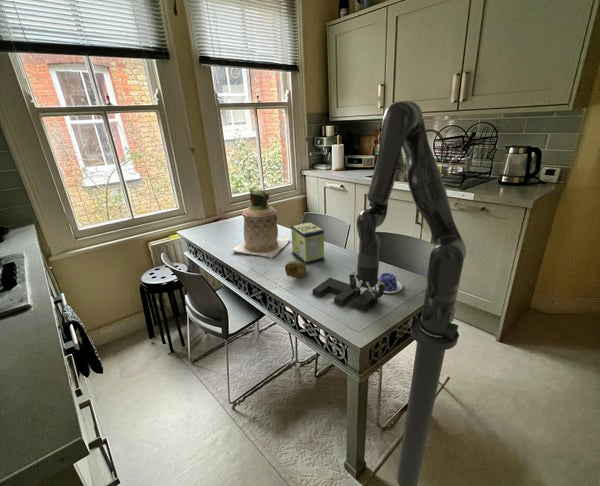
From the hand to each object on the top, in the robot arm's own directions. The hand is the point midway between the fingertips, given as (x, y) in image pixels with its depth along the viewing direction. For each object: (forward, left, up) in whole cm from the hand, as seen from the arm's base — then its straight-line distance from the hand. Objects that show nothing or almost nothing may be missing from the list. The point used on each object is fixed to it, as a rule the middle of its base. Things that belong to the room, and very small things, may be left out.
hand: (365, 301), depth 120 cm
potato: (+35, -1, -1) cm, 35 cm away
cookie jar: (+72, -15, -1) cm, 73 cm away
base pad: (+13, +1, -1) cm, 13 cm away
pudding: (-1, -16, -1) cm, 16 cm away
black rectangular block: (0, 0, -1) cm, 1 cm away
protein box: (+44, -20, -1) cm, 48 cm away
